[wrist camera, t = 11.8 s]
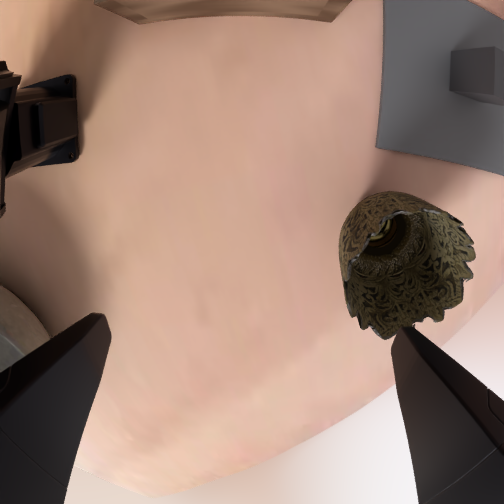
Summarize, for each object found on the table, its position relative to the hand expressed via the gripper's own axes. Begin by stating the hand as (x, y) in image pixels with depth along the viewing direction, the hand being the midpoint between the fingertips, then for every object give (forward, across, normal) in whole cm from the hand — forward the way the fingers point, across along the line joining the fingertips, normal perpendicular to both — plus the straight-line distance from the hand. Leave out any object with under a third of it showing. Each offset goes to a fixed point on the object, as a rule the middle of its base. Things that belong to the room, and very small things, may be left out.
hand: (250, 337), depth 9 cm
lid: (+14, -14, -10) cm, 22 cm away
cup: (+13, -8, +1) cm, 15 cm away
